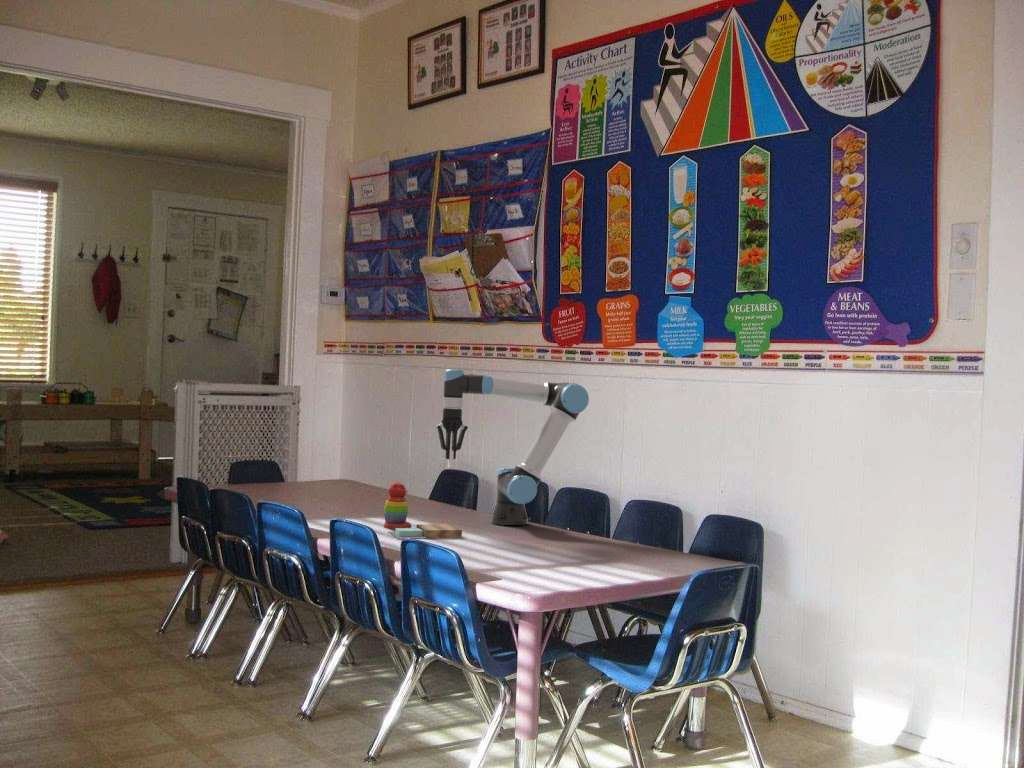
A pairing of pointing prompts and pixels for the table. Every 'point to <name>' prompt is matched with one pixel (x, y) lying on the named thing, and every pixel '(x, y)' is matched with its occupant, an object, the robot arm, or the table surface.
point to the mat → (405, 536)
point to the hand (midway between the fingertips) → (450, 467)
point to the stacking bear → (396, 507)
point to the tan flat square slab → (440, 530)
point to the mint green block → (408, 531)
